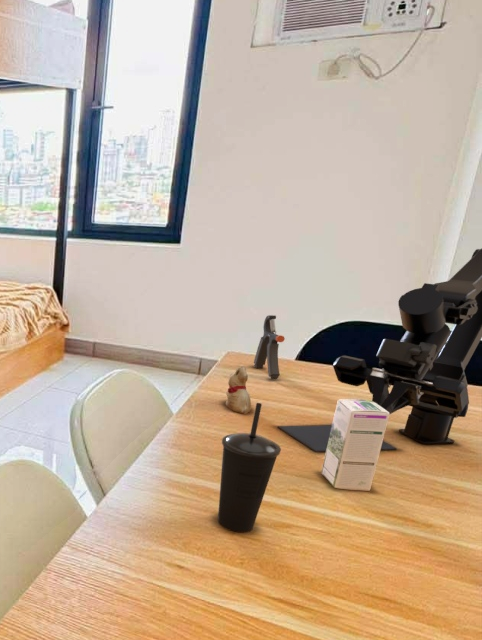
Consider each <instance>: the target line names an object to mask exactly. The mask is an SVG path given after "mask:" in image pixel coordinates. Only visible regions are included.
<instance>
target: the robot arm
mask: <svg viewBox="0 0 482 640" xmlns="http://www.w3.org/2000/svg"><path fill="white" fill-rule="evenodd" d="M472 253H473V254H472V255H471V258H470V259H469V260H468V261H467V262H466V263H465V264H464V265H463V266H462V267H461V268H460V269H459V270H458V271H457V272H455V274H454V275H452V277H451V278H449V280H446V281H441V282H436V283H426V282H425V283H423V285H422V286H421V287H419V288H414V289H411V290H409V291H407V292H405V293H404V294H401V296H400V297H399V299H398V301H397V302H398V311H399V315H400V320H401V326H402V328H403V329H404V330H405V333H404V334H403V336H402V337H401V339H400V340H395V339H391V338H390V339H389V338H383V339H382V341H381V344H380V346H379V348H378V351H377V353H376V355H375V356H376V358H379V361H378V366H379V367H380V368H377V367H372V368H368V367H367V363H366V361H365V359H363V358H358V357H353V356H348V355H341V356H339V357H337V358H336V359H335V361H334V362H333V364H332V367H333V371H334V373H335V375H336V379H337V381H338V382H340V383H341V384H345V385H349V386H353V387H360V386H363V385H365V384H367V388H368V391H369V394H371V395H372V399H371V401H374V402H375V403H376V404H378V405H379V406H381V407H382V408H384V409H385V410H386V411H388V412H389V413H390V414H389V416H390V415H391V414H393V413H395V412H397V411H399V410H401V409H404V408H406V407H411V410H410V413H409V414H408V415H407V419H406V423H405V427H404V428H399V429H398V432H399V433H400V434H402V435H404V436H406V437H408V438H410V439H412V440H414V441H416V442H418V443H420V444H422V445H440V444H443V445H444V444H447V445H448V444H455V440H454V439H452V438H450V437H449V436H450V432H451V429H452V426H453V423H454V420H455V419H457V418H465V417H466V416H467V412H468V409H469V404H470V400H469V390H468V385H469V384H468V381H467V376H466V373H465V370H466V367H467V366H468V364H469V362H470V360H471V358H472V356H473V355H474V353H475V351H476V349H477V347H478V345H479V344H480V342H481V340H482V248H476V249H475V250H474V251H473V252H472ZM448 324H450V325H454V326H453V328H452V330H451V328H450V326H449V325H448ZM391 386H392V388H391V390H389V388H390V387H391Z"/></svg>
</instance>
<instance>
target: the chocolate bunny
mask: <svg viewBox="0 0 482 640" xmlns="http://www.w3.org/2000/svg"><path fill="white" fill-rule="evenodd" d="M248 378H249V373H248V372H247V369H246V367H245V366H244V365H242V366H241V365H240V366H238V368H237V369H236V370H235V372H234V373H233V374H231V375H230V376H229V378H228V382H227V385H228V388H227V391H226V401H225V406H226V407H227V408H228V409H229V410H231V411H233V412H234V413H235V412H236V413H240V414H243V415H246V414H248V413H250V412H251V409H252V401H251V395H250V393H249V391H248V390H247V386H246V383H247V381H248Z"/></svg>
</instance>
